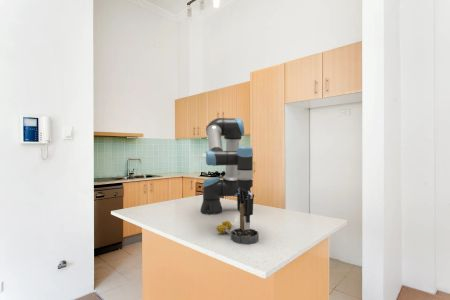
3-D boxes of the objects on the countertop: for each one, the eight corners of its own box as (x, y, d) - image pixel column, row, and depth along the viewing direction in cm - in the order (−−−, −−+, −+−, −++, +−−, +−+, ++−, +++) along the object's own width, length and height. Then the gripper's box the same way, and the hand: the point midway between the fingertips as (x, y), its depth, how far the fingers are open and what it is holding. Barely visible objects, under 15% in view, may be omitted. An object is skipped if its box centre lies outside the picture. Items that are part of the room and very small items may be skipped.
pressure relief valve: (213, 232, 124) (226, 228, 132) (232, 242, 116) (244, 236, 124) (215, 222, 123) (227, 218, 131) (233, 231, 116) (245, 226, 124)
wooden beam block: (239, 228, 118) (239, 203, 118) (246, 227, 120) (246, 202, 120) (243, 230, 115) (243, 204, 115) (249, 229, 116) (249, 204, 116)
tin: (226, 236, 121) (226, 229, 121) (249, 232, 126) (249, 226, 126) (239, 245, 109) (239, 238, 109) (263, 241, 114) (263, 234, 114)
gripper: (230, 177, 123) (230, 224, 123) (246, 181, 108) (246, 234, 108) (243, 176, 126) (243, 222, 126) (260, 180, 111) (260, 231, 111)
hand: (244, 227), depth 117 cm, fingers closed on wooden beam block, 3 cm apart
